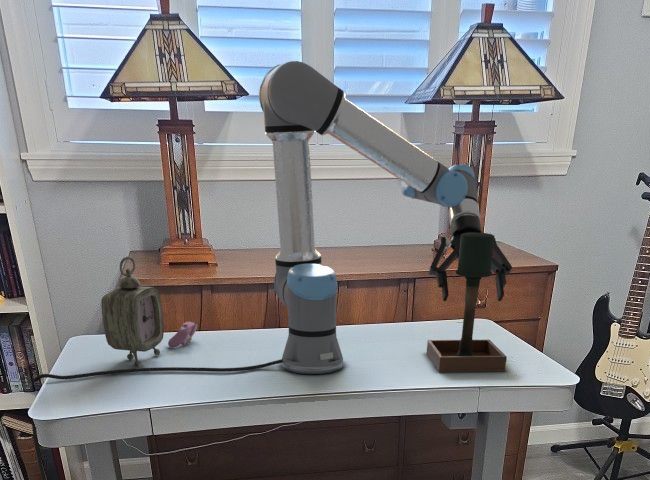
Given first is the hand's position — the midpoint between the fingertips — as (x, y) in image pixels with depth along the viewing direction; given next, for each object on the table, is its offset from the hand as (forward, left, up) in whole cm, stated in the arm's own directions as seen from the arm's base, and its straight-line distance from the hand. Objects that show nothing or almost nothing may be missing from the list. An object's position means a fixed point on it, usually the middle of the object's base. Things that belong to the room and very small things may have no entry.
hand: (473, 298), depth 169 cm
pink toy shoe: (-73, +22, -17) cm, 78 cm away
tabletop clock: (-83, +7, -17) cm, 85 cm away
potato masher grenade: (0, +2, -16) cm, 16 cm away
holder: (0, +2, -17) cm, 17 cm away
